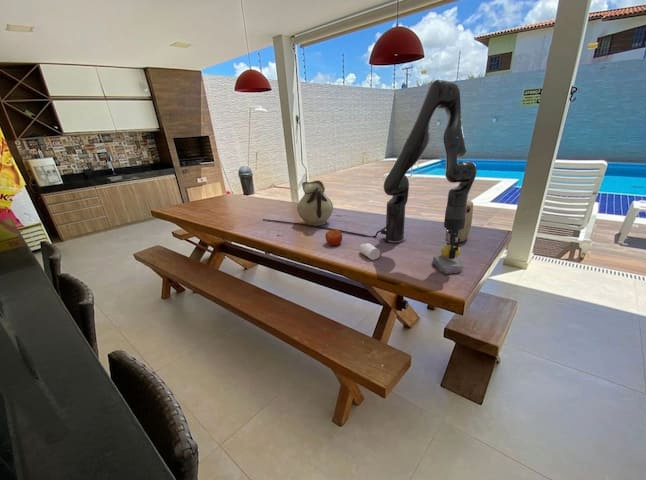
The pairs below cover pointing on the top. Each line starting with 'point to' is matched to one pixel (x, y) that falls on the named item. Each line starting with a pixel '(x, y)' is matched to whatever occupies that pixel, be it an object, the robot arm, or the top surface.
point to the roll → (370, 251)
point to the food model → (466, 222)
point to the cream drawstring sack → (314, 204)
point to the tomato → (333, 237)
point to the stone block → (447, 264)
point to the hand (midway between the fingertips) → (450, 255)
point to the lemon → (446, 250)
